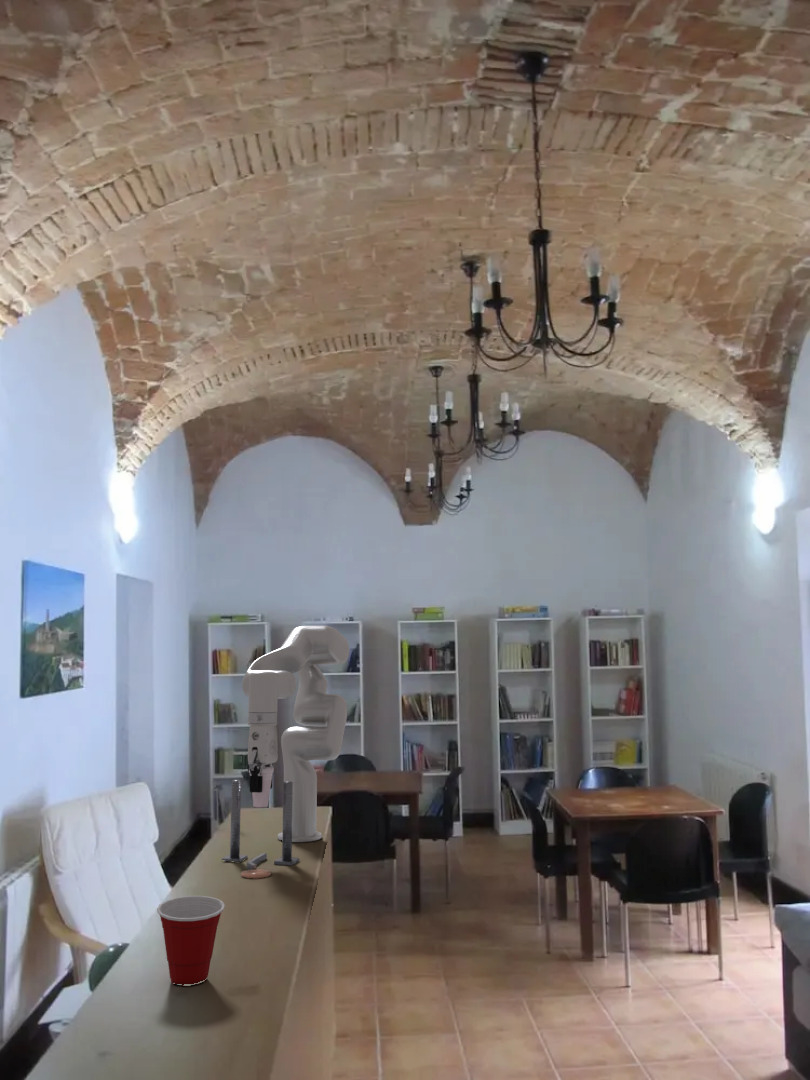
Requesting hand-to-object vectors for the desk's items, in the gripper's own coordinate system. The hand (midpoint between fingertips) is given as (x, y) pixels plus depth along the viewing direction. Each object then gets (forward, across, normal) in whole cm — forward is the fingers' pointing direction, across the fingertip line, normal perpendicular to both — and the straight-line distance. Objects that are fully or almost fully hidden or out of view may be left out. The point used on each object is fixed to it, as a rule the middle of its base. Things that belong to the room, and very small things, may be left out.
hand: (261, 789), depth 237 cm
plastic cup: (+19, -83, -20) cm, 88 cm away
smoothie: (+4, 0, 0) cm, 4 cm away
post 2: (+18, +1, -7) cm, 19 cm away
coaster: (+18, -13, -4) cm, 23 cm away
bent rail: (+18, -3, -1) cm, 18 cm away
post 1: (+18, +1, +7) cm, 19 cm away
